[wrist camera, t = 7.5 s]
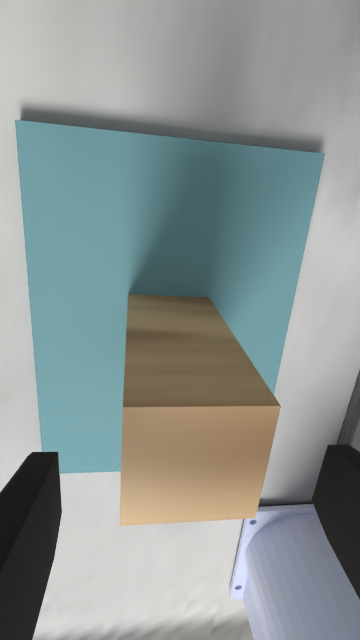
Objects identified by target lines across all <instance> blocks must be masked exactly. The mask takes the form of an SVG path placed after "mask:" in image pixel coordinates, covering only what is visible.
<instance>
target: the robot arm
mask: <svg viewBox="0 0 360 640" xmlns="http://www.w3.org/2000/svg"><path fill="white" fill-rule="evenodd" d="M312 502H313V504H303V505H284V506H265V507H258V509H257V514H256V518H248V519H244V523H243V528H242V533H241V538H240V543H239V547H238V552H237V557H236V562H235V566H234V571H233V576H232V581H231V586H230V590H229V593H230V597H231V599H234V600H237V599H243V601H244V605H245V608H246V612H247V616H248V620H249V624H250V627H251V631H252V635H253V639H254V640H360V452H359V451H358V450H356V449H355V448H353V447H352V446H350V445H348V444H346V445H328V447H327V450H326V453H325V457H324V460H323V464H322V467H321V470H320V474H319V477H318V480H317V484H316V487H315V490H314V494H313V497H312ZM61 513H62V509H61V492H60V475H59V458H58V452H32V453H31V454H30V455H28V456H27V458H26V459H25V461H24V462H23V463H22V465H21V466H20V467H19V469H18V470H17V471H16V473H15V474H14V475H13V477H12V478H11V479H10V481H9V482H8V483H7V485H6V486H5V487H4V488H3V490H2V491H1V492H0V640H32V638H33V635H34V631H35V627H36V623H37V620H38V616H39V612H40V609H41V605H42V601H43V598H44V594H45V590H46V586H47V582H48V579H49V575H50V571H51V567H52V564H53V560H54V555H55V549H56V543H57V538H58V532H59V526H60V519H61Z"/></svg>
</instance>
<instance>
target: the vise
mask: <svg viewBox="0 0 360 640" xmlns="http://www.w3.org/2000/svg"><path fill="white" fill-rule="evenodd" d="M346 444H348V445H350V446H352V447H353V448H355V449H356V450H358V451H359V452H360V372H359V375H358V378H357V381H356V384H355V388H354V391H353V394H352V397H351V400H350V404H349V407H348V410H347V413H346V417H345V420H344V423H343V426H342V429H341V433H340V436H339V439H338V442H337V445H346Z"/></svg>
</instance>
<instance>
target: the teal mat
mask: <svg viewBox="0 0 360 640" xmlns="http://www.w3.org/2000/svg"><path fill="white" fill-rule="evenodd" d="M15 125H16V137H17V149H18V162H19V174H20V186H21V198H22V211H23V223H24V235H25V248H26V260H27V272H28V285H29V297H30V309H31V322H32V334H33V346H34V358H35V371H36V383H37V395H38V408H39V420H40V432H41V445H42V452H58V458H59V473H86V472H115V471H121V457H122V417H123V391H124V369H125V348H126V326H127V304H128V294H136V295H161V296H186V297H209V298H210V300H211V301H212V303H213V304H214V306H215V307H216V309H217V310H218V312H219V313H220V315H221V316H222V318H223V319H224V321H225V322H226V324H227V325H228V327H229V328H230V330H231V331H232V333H233V334H234V336H235V337H236V339H237V340H238V342H239V344H240V345H241V347H242V348H243V350H244V351H245V353H246V354H247V356H248V357H249V359H250V360H251V362H252V363H253V365H254V366H255V368H256V369H257V371H258V372H259V374H260V375H261V377H262V378H263V380H264V381H265V383H266V384H267V386H268V387H269V389H270V390H271V392H272V394H274V390H275V385H276V380H277V375H278V371H279V366H280V361H281V357H282V352H283V347H284V343H285V338H286V333H287V329H288V324H289V319H290V314H291V310H292V305H293V300H294V296H295V291H296V286H297V282H298V277H299V272H300V268H301V263H302V258H303V253H304V249H305V244H306V239H307V235H308V230H309V225H310V221H311V216H312V211H313V207H314V202H315V197H316V192H317V188H318V183H319V178H320V174H321V169H322V164H323V160H324V155H325V154H324V153H315V152H306V151H296V150H287V149H278V148H269V147H260V146H251V145H242V144H233V143H223V142H214V141H205V140H196V139H187V138H178V137H169V136H160V135H150V134H141V133H132V132H123V131H114V130H105V129H96V128H87V127H77V126H68V125H59V124H50V123H41V122H32V121H23V120H15Z"/></svg>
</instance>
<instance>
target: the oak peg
mask: <svg viewBox="0 0 360 640" xmlns="http://www.w3.org/2000/svg"><path fill="white" fill-rule="evenodd" d="M280 407H281V406H280V404H279V403H278V401H277V400H276V398H275V397H274V395H273V394H272V392H271V390H270V389H269V387H268V386H267V384H266V383H265V381H264V380H263V378H262V377H261V375H260V374H259V372H258V371H257V369H256V368H255V366H254V365H253V363H252V362H251V360H250V359H249V357H248V356H247V354H246V353H245V351H244V350H243V348H242V347H241V345H240V344H239V342H238V340H237V339H236V337H235V336H234V334H233V333H232V331H231V330H230V328H229V327H228V325H227V324H226V322H225V321H224V319H223V318H222V316H221V315H220V313H219V312H218V310H217V309H216V307H215V306H214V304H213V303H212V301H211V300H210V298H209V297H186V296H161V295H136V294H128V304H127V326H126V348H125V369H124V391H123V417H122V457H121V497H120V526H128V525H145V524H162V523H179V522H196V521H213V520H231V519H248V518H256V514H257V509H258V505H259V500H260V496H261V491H262V487H263V483H264V478H265V474H266V469H267V465H268V460H269V456H270V451H271V447H272V443H273V438H274V434H275V429H276V425H277V420H278V416H279V411H280Z"/></svg>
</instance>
